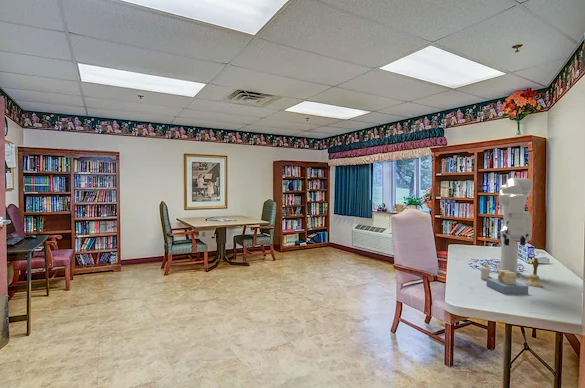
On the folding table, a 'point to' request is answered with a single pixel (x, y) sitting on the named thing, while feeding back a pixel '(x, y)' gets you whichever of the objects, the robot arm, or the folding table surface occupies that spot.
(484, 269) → the model
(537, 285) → the hand bell
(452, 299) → the folding table surface
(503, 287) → the slate base
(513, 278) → the oak cube
